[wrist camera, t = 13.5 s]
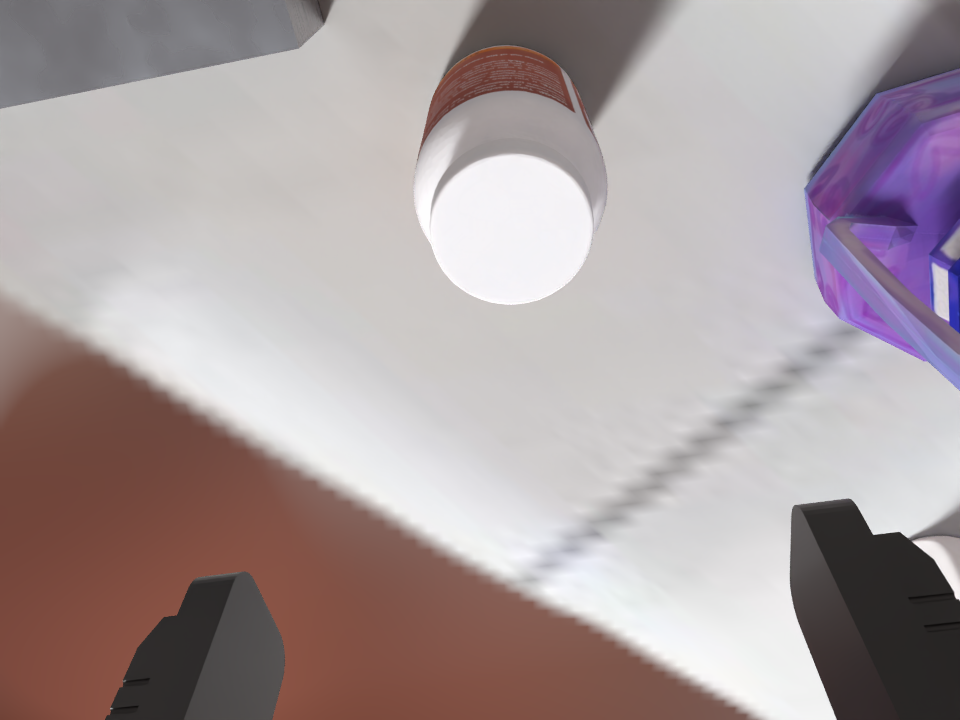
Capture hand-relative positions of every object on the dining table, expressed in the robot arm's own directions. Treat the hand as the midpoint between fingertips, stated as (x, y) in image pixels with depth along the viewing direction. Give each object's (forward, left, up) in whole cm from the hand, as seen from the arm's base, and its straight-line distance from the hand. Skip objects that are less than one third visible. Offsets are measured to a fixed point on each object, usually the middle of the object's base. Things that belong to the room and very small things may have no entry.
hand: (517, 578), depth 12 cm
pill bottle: (0, 0, -24) cm, 24 cm away
